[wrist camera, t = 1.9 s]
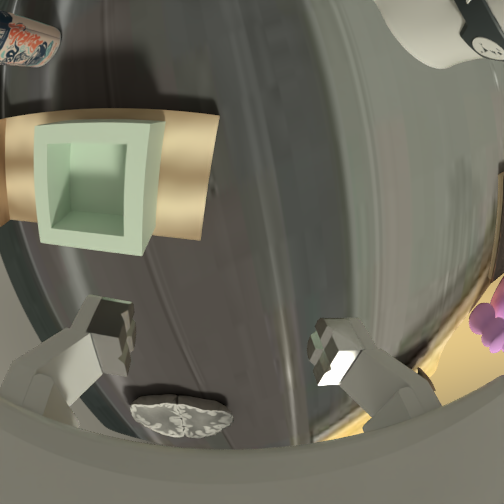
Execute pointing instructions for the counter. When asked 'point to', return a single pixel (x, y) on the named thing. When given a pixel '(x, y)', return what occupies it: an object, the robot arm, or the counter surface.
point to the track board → (170, 175)
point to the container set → (490, 320)
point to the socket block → (98, 183)
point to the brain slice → (181, 415)
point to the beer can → (26, 41)
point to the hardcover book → (498, 235)
